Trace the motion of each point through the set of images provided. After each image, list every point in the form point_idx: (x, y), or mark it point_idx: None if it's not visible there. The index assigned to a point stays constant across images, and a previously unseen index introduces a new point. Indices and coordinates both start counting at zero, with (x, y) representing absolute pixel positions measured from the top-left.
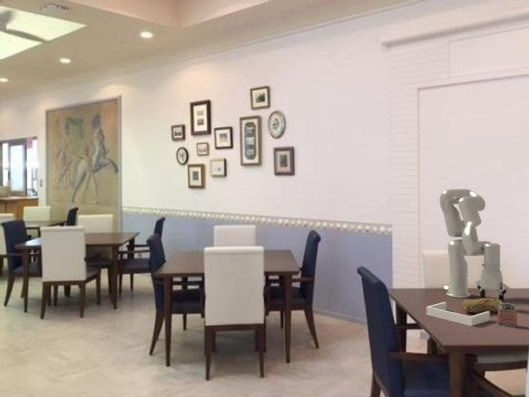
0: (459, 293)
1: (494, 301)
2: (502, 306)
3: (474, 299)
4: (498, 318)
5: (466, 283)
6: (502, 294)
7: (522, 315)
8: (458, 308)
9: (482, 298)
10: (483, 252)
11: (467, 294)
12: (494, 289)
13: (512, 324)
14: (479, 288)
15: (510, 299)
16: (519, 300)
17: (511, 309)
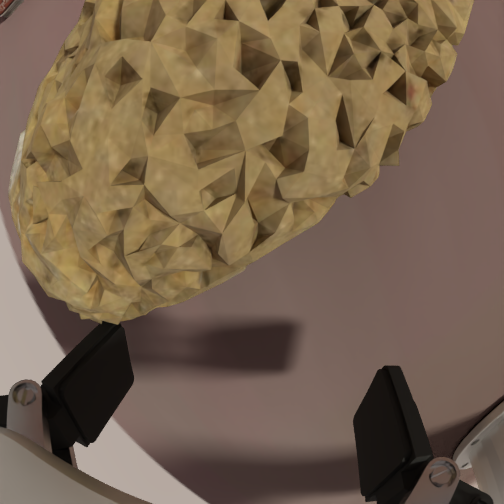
0: None
1: (38, 114)
2: (19, 144)
3: (416, 18)
4: None
5: (497, 495)
6: (22, 389)
7: (8, 221)
8: (485, 54)
9: (235, 6)
10: None
11: (472, 449)
12: (23, 466)
13: None
14: (457, 496)
15: (251, 498)
16: (212, 494)
17: None
